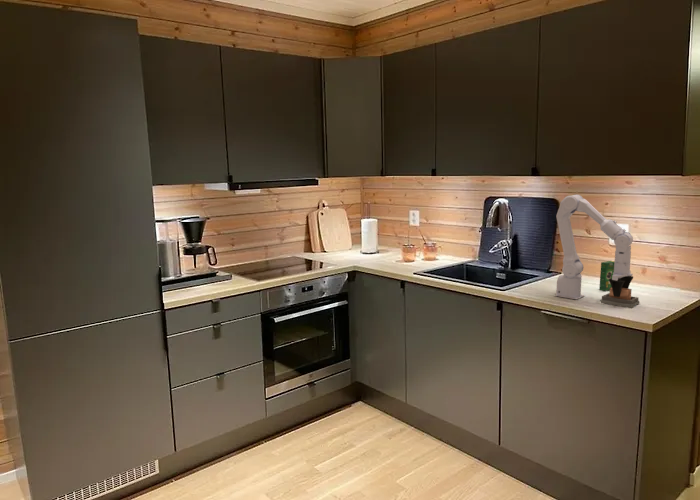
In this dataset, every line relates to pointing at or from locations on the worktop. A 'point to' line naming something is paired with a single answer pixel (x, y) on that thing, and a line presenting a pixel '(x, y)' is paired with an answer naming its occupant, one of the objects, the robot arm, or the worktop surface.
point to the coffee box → (606, 275)
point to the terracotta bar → (622, 294)
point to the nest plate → (619, 301)
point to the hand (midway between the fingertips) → (620, 294)
